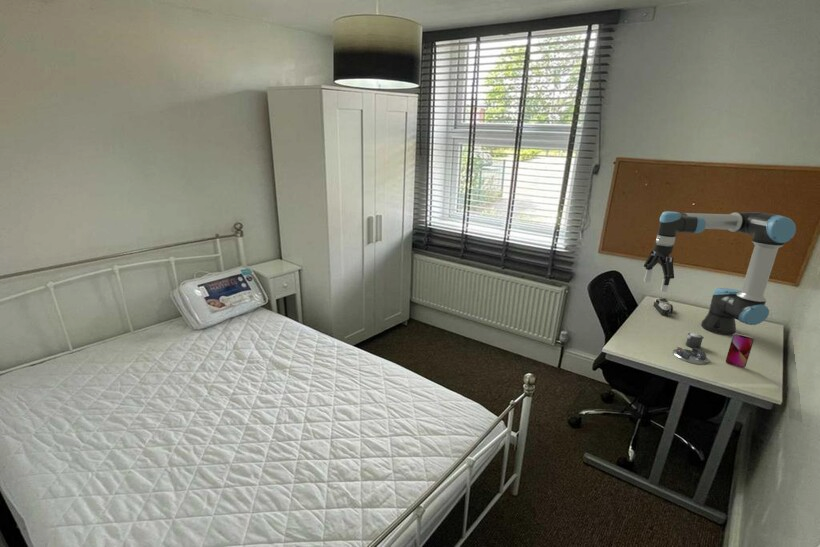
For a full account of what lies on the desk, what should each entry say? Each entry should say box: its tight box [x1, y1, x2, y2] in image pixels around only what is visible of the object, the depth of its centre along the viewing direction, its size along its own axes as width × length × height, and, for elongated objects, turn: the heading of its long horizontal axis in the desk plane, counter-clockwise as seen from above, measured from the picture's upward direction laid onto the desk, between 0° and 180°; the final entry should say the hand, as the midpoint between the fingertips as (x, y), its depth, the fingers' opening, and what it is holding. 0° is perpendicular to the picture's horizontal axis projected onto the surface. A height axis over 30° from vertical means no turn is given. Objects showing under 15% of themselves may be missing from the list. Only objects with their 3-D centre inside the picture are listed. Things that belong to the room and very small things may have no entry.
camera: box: [653, 297, 674, 317], centre depth 237 cm, size 16×9×10 cm, turn 168°
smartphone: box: [725, 332, 755, 368], centre depth 180 cm, size 7×1×15 cm, turn 50°
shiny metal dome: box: [672, 346, 709, 365], centre depth 188 cm, size 14×14×3 cm
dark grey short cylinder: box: [685, 332, 705, 350], centre depth 198 cm, size 7×6×6 cm
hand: (654, 286), depth 196 cm, fingers open, 13 cm apart
